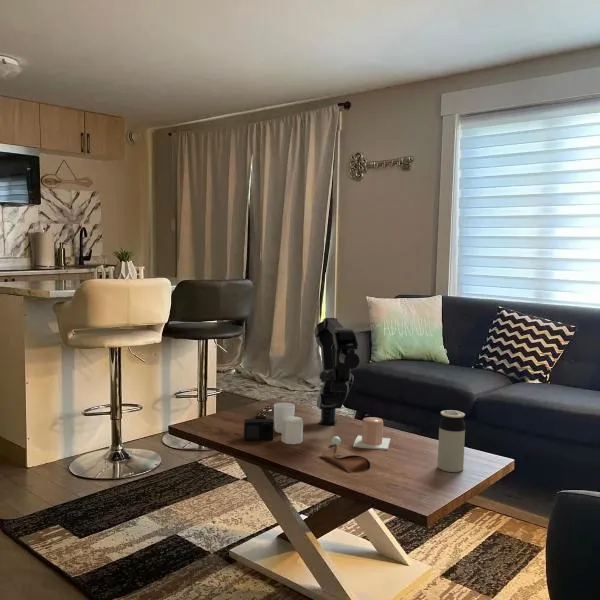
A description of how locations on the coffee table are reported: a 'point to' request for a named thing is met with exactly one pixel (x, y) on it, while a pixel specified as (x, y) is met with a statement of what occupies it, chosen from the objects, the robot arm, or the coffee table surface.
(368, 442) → the terracotta cup
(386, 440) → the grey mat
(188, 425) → the coffee table surface
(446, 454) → the travel mug
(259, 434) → the digital camera
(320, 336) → the robot arm
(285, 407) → the white cup
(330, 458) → the sunglasses case
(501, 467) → the coffee table surface
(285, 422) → the off-white cup
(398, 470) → the coffee table surface
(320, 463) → the coffee table surface
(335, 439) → the pale green marble
